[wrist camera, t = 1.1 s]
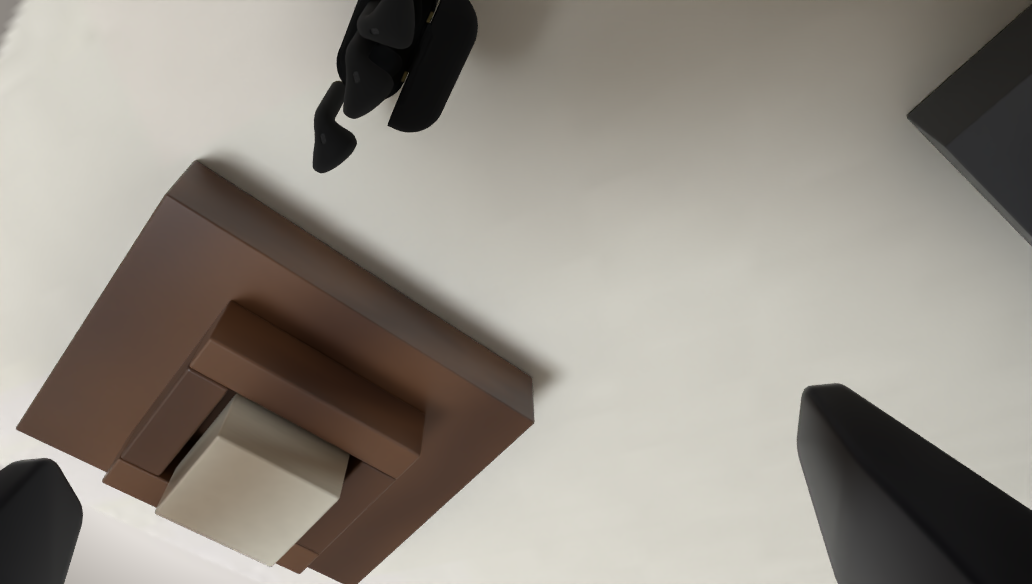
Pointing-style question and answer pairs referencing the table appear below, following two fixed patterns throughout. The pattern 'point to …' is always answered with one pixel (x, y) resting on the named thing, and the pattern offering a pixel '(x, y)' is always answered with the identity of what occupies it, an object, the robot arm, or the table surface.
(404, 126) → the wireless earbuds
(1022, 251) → the table surface
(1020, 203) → the key block
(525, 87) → the table surface
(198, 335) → the key block
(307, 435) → the key
